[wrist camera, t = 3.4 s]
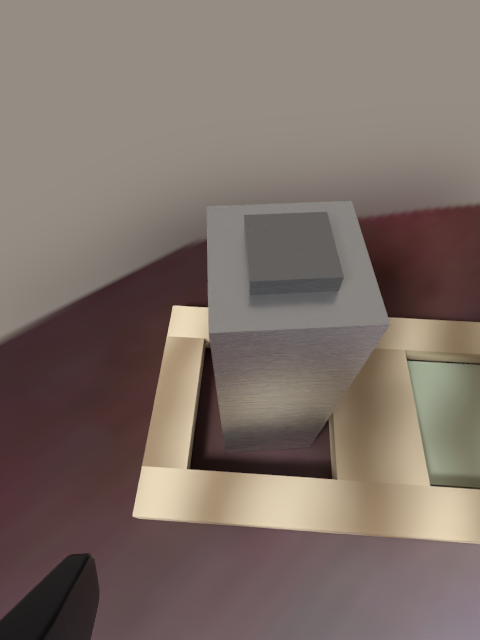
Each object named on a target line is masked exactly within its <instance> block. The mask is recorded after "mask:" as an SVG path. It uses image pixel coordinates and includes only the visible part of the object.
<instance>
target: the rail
mask: <svg viewBox="0 0 480 640" xmlns="http://www.w3.org/2000/svg"><path fill="white" fill-rule="evenodd" d="M388 319H389V322H390V325H389V327H388V328H387V330H386V332H385V333H384V335H383V336H382V338H381V339H380V341H379V342H378V344H377V345H376V347H375V348H374V350H373V351H372V353H371V355H370V356H369V358H368V359H367V361H366V362H365V364H364V365H363V367H362V368H361V370H360V371H359V373H358V374H357V376H356V378H355V379H354V381H353V382H352V384H351V385H350V387H349V388H348V390H347V391H346V393H345V394H344V396H343V397H342V399H341V401H340V402H339V404H338V405H337V407H336V408H335V410H334V411H333V413H332V414H331V416H330V417H329V433H330V449H331V466H332V479H320V478H306V477H292V476H277V475H263V474H248V473H234V472H220V471H205V470H191V469H190V465H191V457H192V449H193V441H194V434H195V426H196V418H197V410H198V402H199V395H200V387H201V379H202V371H203V363H204V356H205V348H211V346H210V339H209V323H208V308H207V307H188V306H173V308H172V314H171V319H170V324H169V329H168V334H167V340H166V345H165V350H164V355H163V360H162V366H161V371H160V376H159V381H158V386H157V391H156V397H155V402H154V407H153V412H152V417H151V423H150V428H149V433H148V438H147V443H146V449H145V454H144V459H143V464H142V469H141V474H140V480H139V485H138V490H137V495H136V500H135V506H134V511H133V517H136V518H138V519H152V520H165V521H179V522H192V523H206V524H219V525H232V526H246V527H259V528H273V529H286V530H300V531H313V532H326V533H340V534H353V535H367V536H380V537H394V538H407V539H420V540H434V541H447V542H461V543H474V544H480V490H478V489H480V365H471V364H454V363H437V362H420V361H407V359H409V360H426V361H444V362H461V363H478V364H480V322H464V321H446V320H427V319H409V318H390V317H388ZM430 485H433V486H430ZM435 486H448V487H435ZM450 487H462V488H450ZM464 488H476V489H464Z"/></svg>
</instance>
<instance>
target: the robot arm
mask: <svg viewBox="0 0 480 640" xmlns="http://www.w3.org/2000/svg"><path fill="white" fill-rule="evenodd" d="M98 603H99V585H98V578H97V572H96V565H95V560H94V557H93V555H92V554H89V553H86V554H72V555H69V556H68V557H66V558H65V559H64V560H63V561H62V562H61V563H60V564H59V565H58V566H56V567H55V568H54V569H53V570H52V571H51V572H50V573H49V574H48V575H47V576H46V577H45V578H44V579H43V580H42V581H41V582H40V583H39V584H38V585H37V586H36V587H35V588H34V589H33V590H31V591H30V592H29V593H28V594H27V595H26V596H25V597H24V598H23V599H22V600H21V601H20V602H19V603H18V604H17V605H16V606H15V607H14V608H13V609H12V610H11V611H10V612H9V613H7V614H6V615H5V616H4V617H3V618H2V619H1V620H0V640H90V639H91V635H92V630H93V626H94V622H95V617H96V613H97V608H98Z"/></svg>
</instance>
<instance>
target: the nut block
mask: <svg viewBox="0 0 480 640" xmlns="http://www.w3.org/2000/svg"><path fill="white" fill-rule="evenodd" d="M207 255H208V323H209V339H210V346H211V353H212V361H213V368H214V375H215V382H216V389H217V396H218V403H219V410H220V417H221V425H222V432H223V439H224V446H225V453H230V452H247V451H264V450H282V449H299V448H310V447H311V445H312V443H313V442H314V440H315V439H316V437H317V436H318V434H319V433H320V431H321V430H322V428H323V427H324V425H325V424H326V422H327V420H328V419H329V417H330V416H331V414H332V413H333V411H334V410H335V408H336V407H337V405H338V404H339V402H340V401H341V399H342V397H343V396H344V394H345V393H346V391H347V390H348V388H349V387H350V385H351V384H352V382H353V381H354V379H355V378H356V376H357V374H358V373H359V371H360V370H361V368H362V367H363V365H364V364H365V362H366V361H367V359H368V358H369V356H370V355H371V353H372V351H373V350H374V348H375V347H376V345H377V344H378V342H379V341H380V339H381V338H382V336H383V335H384V333H385V332H386V330H387V328H388V327H389V325H390V322H389V319H388V315H387V312H386V309H385V306H384V303H383V299H382V296H381V293H380V290H379V287H378V284H377V280H376V277H375V274H374V271H373V268H372V264H371V261H370V258H369V255H368V252H367V248H366V245H365V242H364V239H363V236H362V232H361V229H360V226H359V223H358V220H357V217H356V213H355V210H354V207H353V204H352V201H335V202H310V203H286V204H284V203H283V204H260V205H259V204H258V205H232V206H207Z"/></svg>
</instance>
